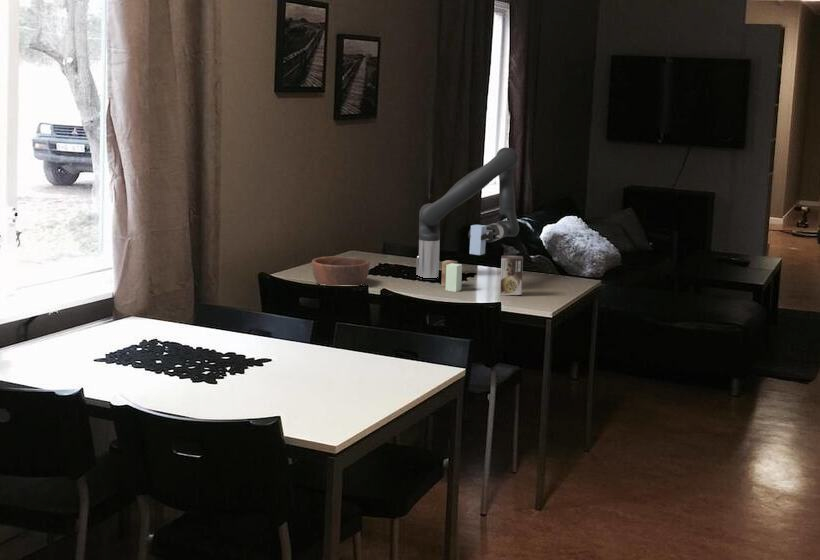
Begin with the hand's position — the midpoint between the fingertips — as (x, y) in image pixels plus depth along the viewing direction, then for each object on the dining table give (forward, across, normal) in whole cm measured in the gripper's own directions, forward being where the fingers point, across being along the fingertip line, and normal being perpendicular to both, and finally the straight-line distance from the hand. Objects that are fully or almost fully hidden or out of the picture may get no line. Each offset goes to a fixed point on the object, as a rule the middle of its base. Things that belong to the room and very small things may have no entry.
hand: (475, 236), depth 462 cm
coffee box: (-3, +16, +23) cm, 29 cm away
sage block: (+3, -8, +23) cm, 25 cm away
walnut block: (-3, -13, +24) cm, 27 cm away
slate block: (-3, 0, +8) cm, 8 cm away
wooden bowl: (+20, -54, +24) cm, 62 cm away
